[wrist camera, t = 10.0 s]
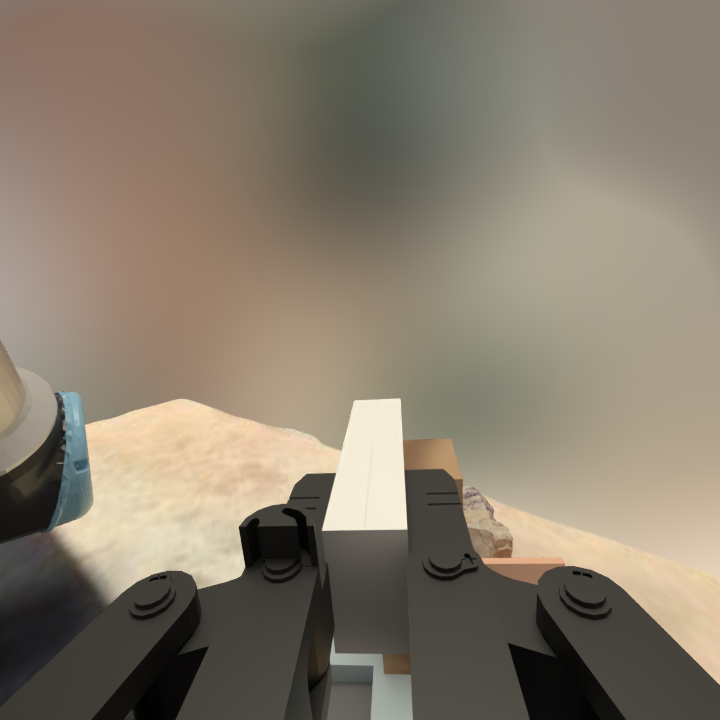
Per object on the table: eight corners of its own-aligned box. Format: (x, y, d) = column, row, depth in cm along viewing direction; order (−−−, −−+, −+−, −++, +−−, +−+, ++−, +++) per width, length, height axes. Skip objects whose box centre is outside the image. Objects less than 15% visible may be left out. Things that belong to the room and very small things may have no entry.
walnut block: (384, 674, 31) (368, 481, 27) (386, 608, 37) (373, 441, 33) (466, 675, 31) (462, 478, 27) (455, 608, 36) (450, 438, 33)
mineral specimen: (544, 570, 43) (546, 516, 41) (494, 602, 39) (494, 545, 38) (457, 511, 53) (456, 466, 52) (412, 532, 50) (409, 485, 49)
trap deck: (217, 885, 23) (198, 807, 21) (294, 613, 40) (286, 559, 38) (695, 922, 20) (711, 836, 19) (558, 615, 37) (561, 557, 36)
